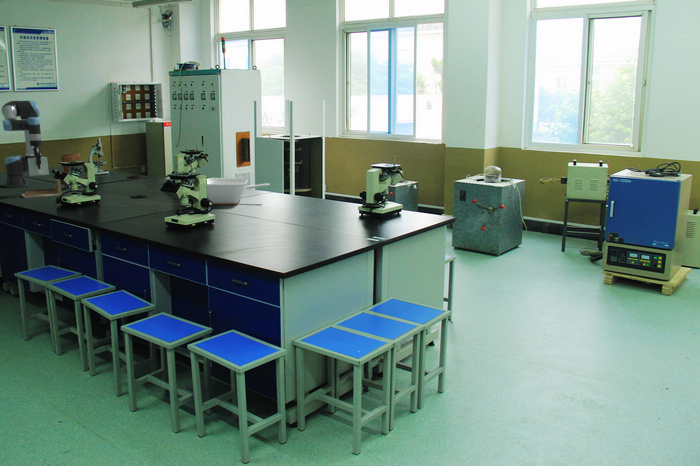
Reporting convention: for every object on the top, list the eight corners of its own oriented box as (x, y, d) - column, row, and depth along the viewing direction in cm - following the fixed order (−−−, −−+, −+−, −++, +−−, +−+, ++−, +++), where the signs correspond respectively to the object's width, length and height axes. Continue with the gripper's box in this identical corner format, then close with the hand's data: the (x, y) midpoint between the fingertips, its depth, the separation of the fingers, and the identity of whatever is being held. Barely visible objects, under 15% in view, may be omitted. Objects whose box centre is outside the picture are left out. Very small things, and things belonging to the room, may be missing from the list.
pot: (209, 198, 426) (208, 177, 423) (271, 199, 428) (271, 178, 424) (200, 206, 398) (199, 184, 395) (267, 207, 400) (267, 184, 396)
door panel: (29, 175, 421) (27, 158, 418) (48, 174, 428) (46, 157, 425) (30, 175, 419) (28, 158, 416) (48, 174, 426) (47, 157, 423)
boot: (94, 185, 473) (91, 151, 467) (99, 186, 467) (96, 152, 460) (61, 188, 456) (57, 153, 450) (65, 190, 450) (61, 154, 443)
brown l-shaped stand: (22, 195, 426) (19, 171, 422) (58, 192, 439) (56, 169, 435) (24, 198, 416) (21, 173, 412) (62, 195, 430) (59, 171, 426)
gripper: (27, 139, 422) (31, 172, 428) (31, 141, 409) (35, 175, 415) (39, 138, 426) (43, 171, 432) (43, 140, 413) (46, 174, 419)
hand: (39, 173), depth 423 cm, fingers closed on door panel, 3 cm apart
